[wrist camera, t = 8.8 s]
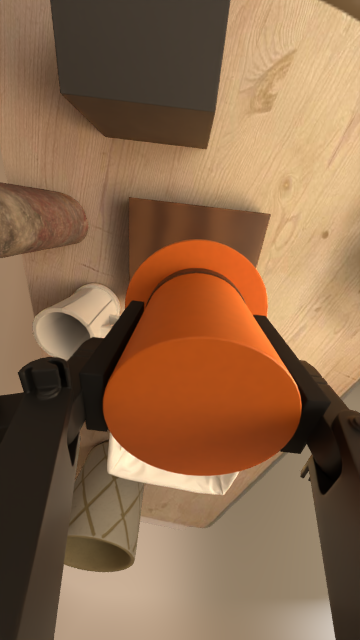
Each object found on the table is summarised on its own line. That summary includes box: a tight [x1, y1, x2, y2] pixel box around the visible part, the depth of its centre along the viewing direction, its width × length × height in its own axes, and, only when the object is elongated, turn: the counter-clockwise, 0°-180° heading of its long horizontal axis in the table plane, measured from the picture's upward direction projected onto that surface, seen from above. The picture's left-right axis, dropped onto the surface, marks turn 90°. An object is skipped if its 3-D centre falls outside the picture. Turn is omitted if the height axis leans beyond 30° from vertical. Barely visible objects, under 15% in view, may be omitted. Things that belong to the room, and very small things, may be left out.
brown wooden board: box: [129, 197, 271, 284], centre depth 34 cm, size 20×16×3 cm
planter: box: [64, 441, 144, 572], centre depth 52 cm, size 19×19×20 cm
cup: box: [32, 283, 121, 361], centre depth 34 cm, size 10×9×12 cm
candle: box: [0, 183, 88, 258], centre depth 24 cm, size 8×7×20 cm
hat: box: [103, 239, 302, 476], centre depth 11 cm, size 10×10×9 cm
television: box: [50, 0, 230, 149], centre depth 21 cm, size 14×10×11 cm
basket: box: [107, 432, 239, 495], centre depth 43 cm, size 24×16×15 cm
